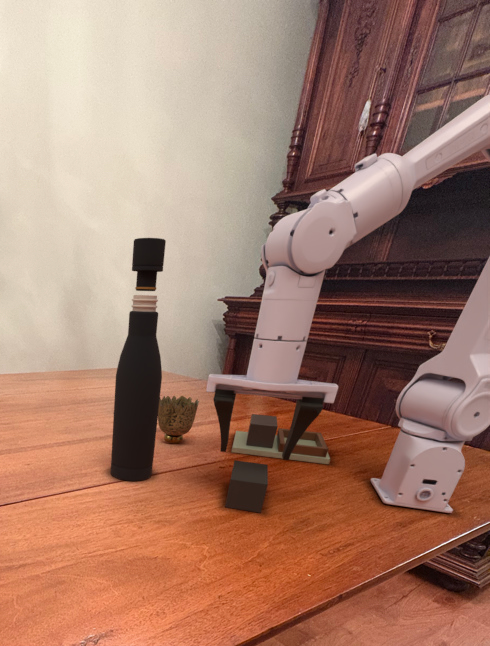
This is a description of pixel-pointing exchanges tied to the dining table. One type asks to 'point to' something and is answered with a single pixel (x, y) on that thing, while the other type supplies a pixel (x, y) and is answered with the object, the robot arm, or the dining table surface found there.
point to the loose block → (247, 486)
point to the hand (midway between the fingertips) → (253, 453)
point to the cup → (176, 417)
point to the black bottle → (139, 372)
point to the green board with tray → (279, 441)
